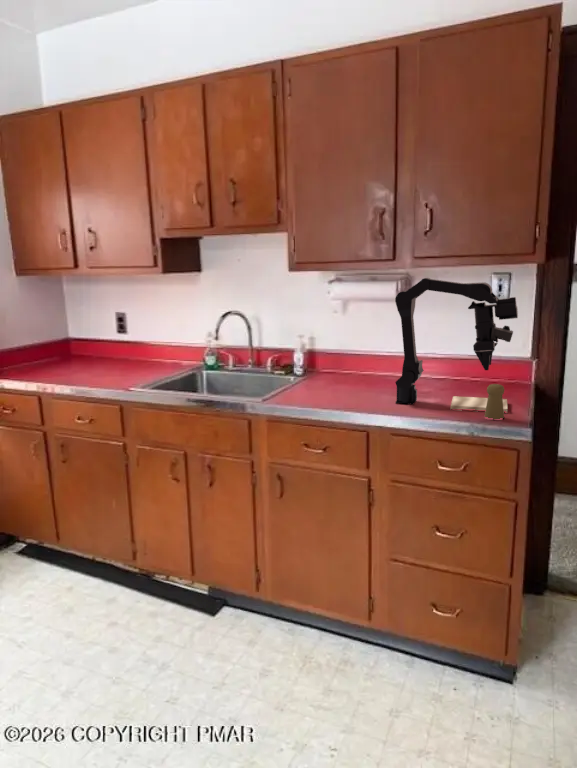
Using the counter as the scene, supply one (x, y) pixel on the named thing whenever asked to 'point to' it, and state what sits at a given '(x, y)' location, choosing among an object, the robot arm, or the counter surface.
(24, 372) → the counter surface
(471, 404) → the birch board
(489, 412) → the cork
